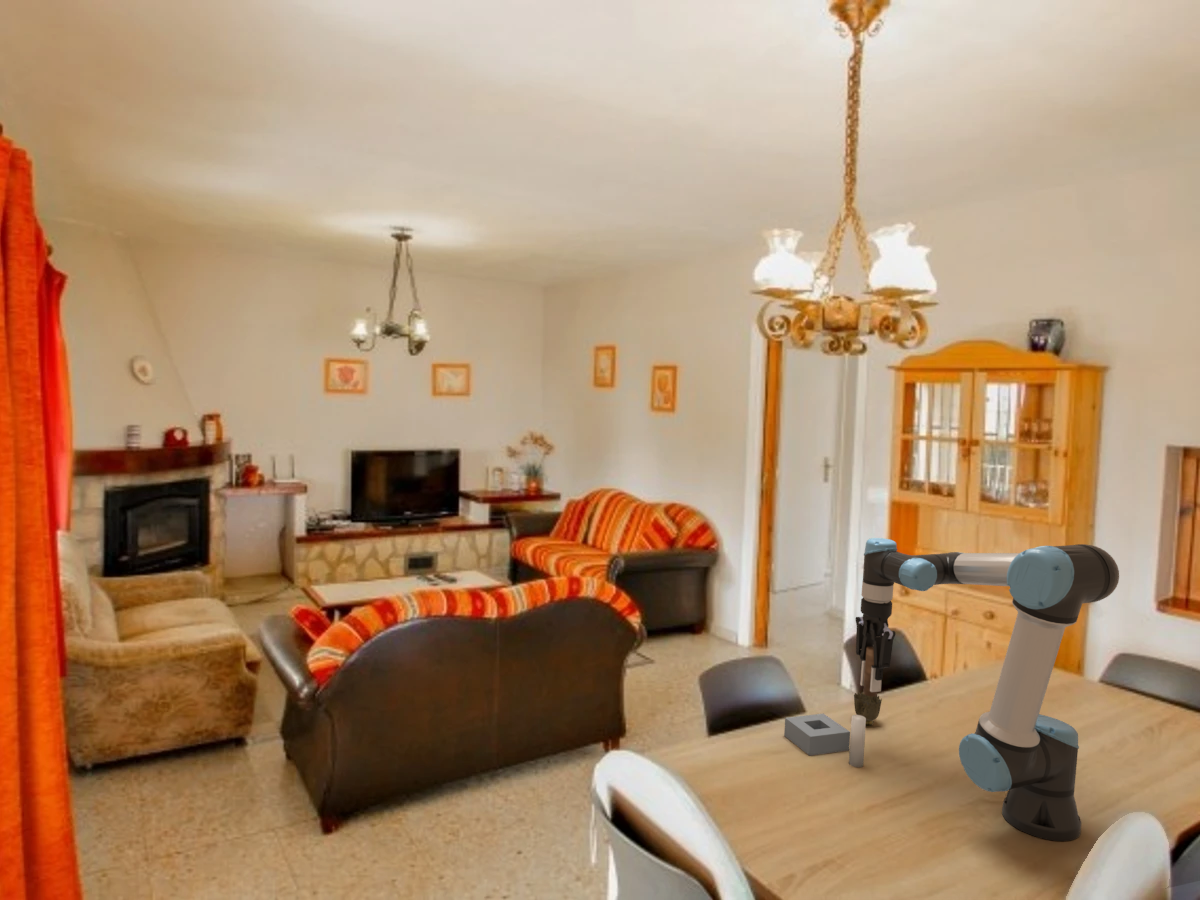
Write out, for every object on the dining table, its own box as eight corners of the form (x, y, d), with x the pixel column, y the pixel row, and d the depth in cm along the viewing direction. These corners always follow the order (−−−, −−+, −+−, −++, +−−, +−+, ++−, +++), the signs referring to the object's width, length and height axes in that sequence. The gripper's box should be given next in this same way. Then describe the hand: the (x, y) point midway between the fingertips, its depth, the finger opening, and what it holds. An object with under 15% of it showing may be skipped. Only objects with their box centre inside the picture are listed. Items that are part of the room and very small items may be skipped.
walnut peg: (879, 695, 204) (883, 650, 203) (868, 697, 203) (871, 651, 202) (871, 690, 207) (875, 646, 206) (860, 691, 206) (863, 646, 205)
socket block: (849, 750, 207) (850, 731, 207) (809, 755, 203) (810, 736, 203) (822, 731, 219) (823, 713, 218) (784, 735, 215) (785, 717, 214)
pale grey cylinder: (866, 766, 199) (868, 719, 198) (854, 767, 198) (857, 721, 197) (857, 760, 202) (860, 714, 201) (846, 761, 201) (848, 715, 200)
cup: (883, 730, 220) (885, 702, 220) (857, 729, 221) (858, 701, 220) (875, 719, 228) (876, 692, 227) (849, 718, 228) (850, 690, 227)
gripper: (910, 607, 196) (903, 699, 198) (869, 589, 212) (863, 675, 214) (884, 609, 194) (877, 702, 196) (845, 591, 209) (839, 677, 212)
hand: (870, 687), depth 205 cm, fingers closed on walnut peg, 3 cm apart
